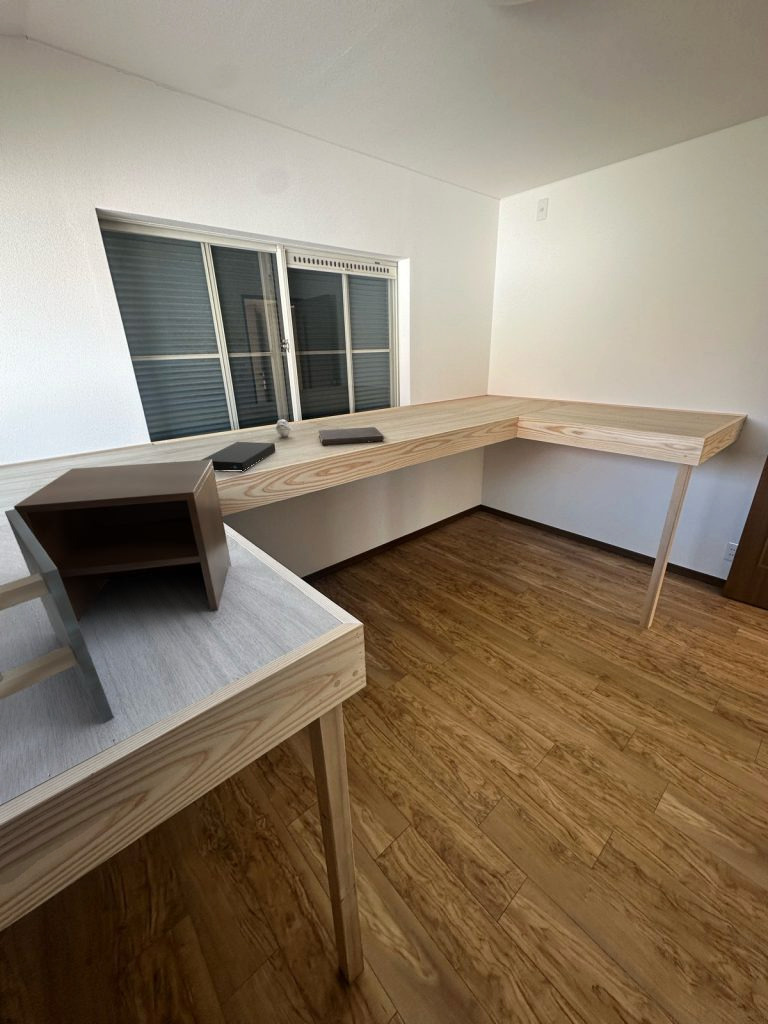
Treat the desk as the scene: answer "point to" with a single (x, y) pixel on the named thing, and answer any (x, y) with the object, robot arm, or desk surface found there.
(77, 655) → the door
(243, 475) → the desk surface
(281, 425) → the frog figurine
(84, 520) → the cupboard
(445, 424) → the desk surface
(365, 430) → the hardcover book
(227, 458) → the external hard drive
